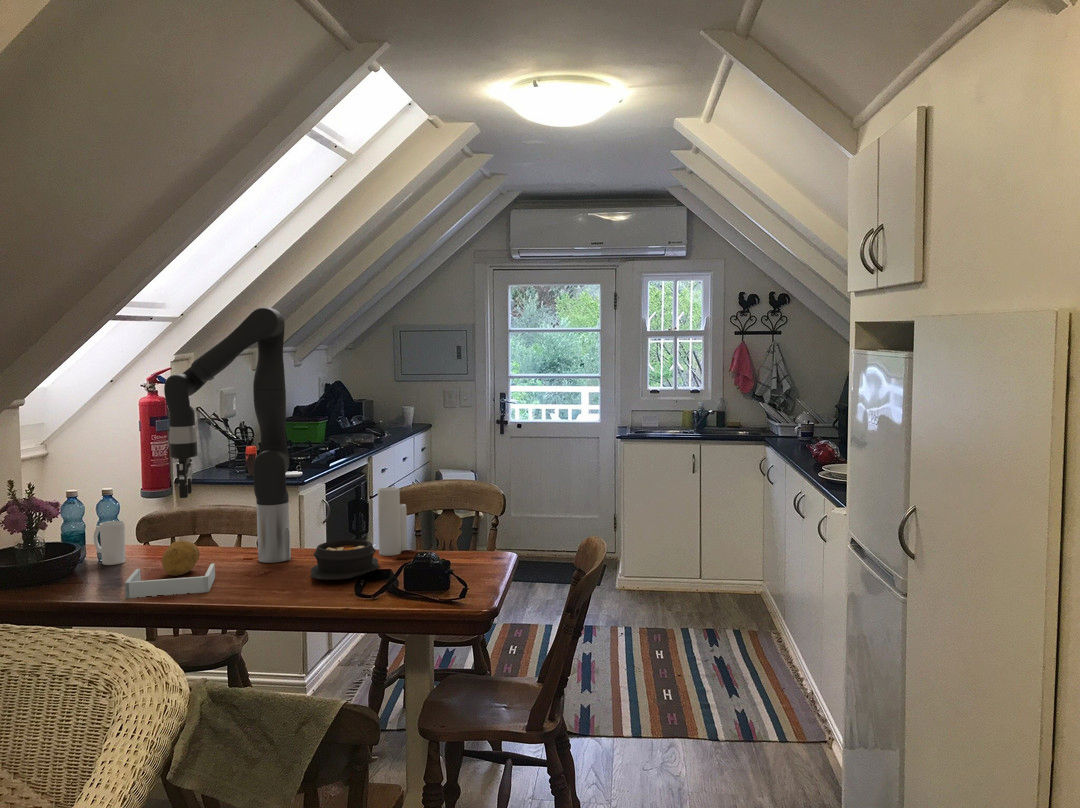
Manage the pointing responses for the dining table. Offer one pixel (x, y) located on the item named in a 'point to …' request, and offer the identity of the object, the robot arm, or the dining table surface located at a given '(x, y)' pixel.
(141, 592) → the bin
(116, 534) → the mug
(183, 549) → the potato
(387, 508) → the vase
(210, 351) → the robot arm
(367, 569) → the casserole
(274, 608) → the dining table surface
